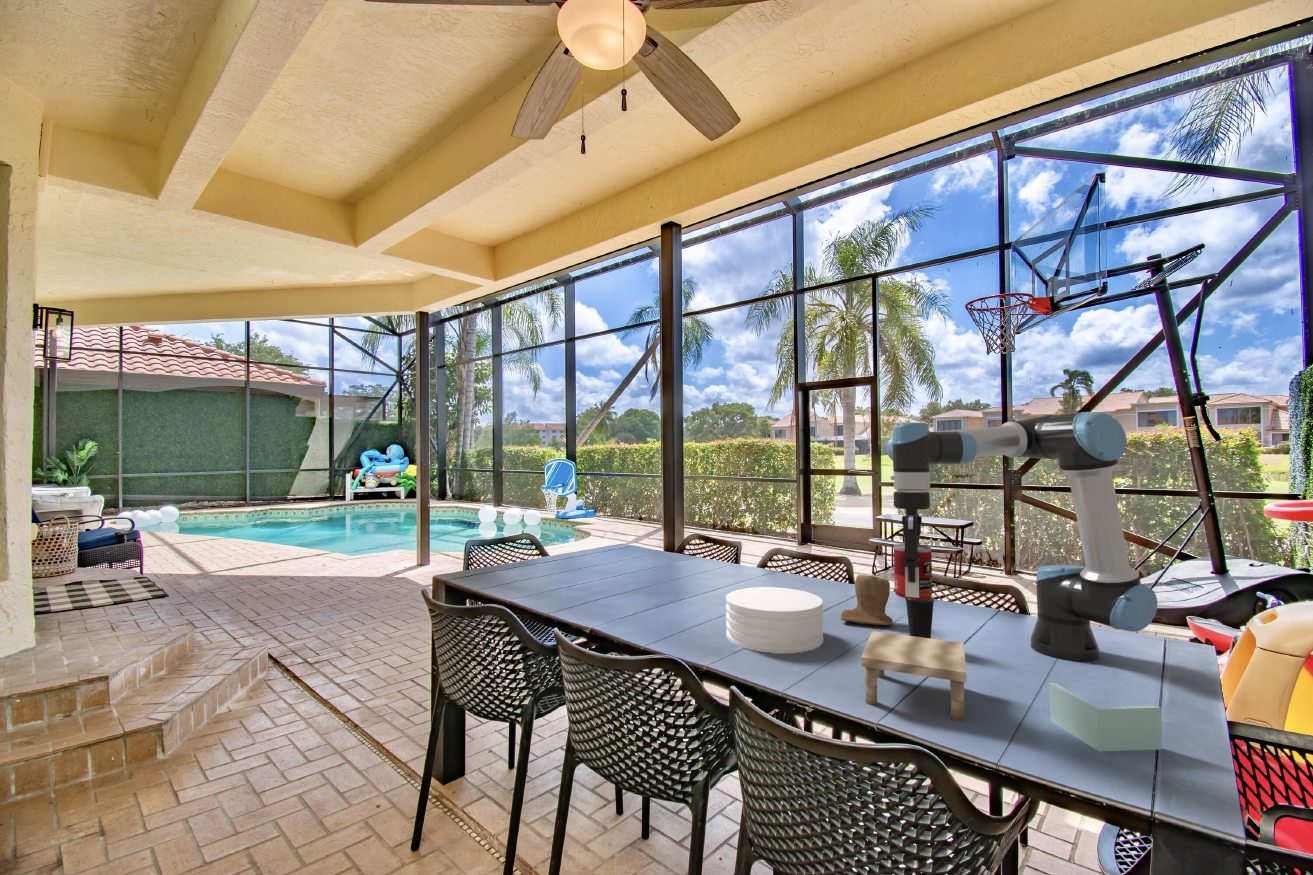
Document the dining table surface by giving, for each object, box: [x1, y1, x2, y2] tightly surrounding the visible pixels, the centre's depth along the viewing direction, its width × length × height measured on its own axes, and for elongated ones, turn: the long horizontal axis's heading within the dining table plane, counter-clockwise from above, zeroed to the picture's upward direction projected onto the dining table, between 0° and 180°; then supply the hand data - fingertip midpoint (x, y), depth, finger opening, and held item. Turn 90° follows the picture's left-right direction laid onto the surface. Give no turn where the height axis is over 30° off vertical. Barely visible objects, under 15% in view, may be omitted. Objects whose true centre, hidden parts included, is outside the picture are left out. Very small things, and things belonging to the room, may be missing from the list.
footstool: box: [861, 630, 968, 721], centre depth 127 cm, size 20×20×10 cm
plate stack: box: [725, 586, 824, 654], centre depth 168 cm, size 28×28×12 cm
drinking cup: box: [904, 596, 936, 639], centre depth 159 cm, size 8×8×20 cm
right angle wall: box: [1048, 682, 1163, 752], centre depth 109 cm, size 12×12×8 cm
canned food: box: [893, 543, 933, 600], centre depth 128 cm, size 8×8×11 cm
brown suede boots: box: [840, 574, 894, 626], centre depth 182 cm, size 15×12×15 cm
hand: (913, 592), depth 128 cm, fingers closed on canned food, 8 cm apart
